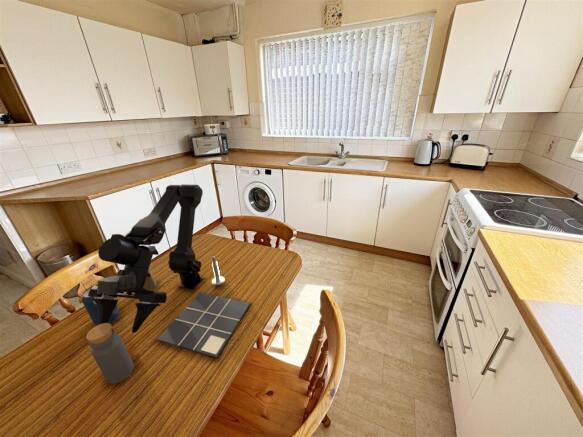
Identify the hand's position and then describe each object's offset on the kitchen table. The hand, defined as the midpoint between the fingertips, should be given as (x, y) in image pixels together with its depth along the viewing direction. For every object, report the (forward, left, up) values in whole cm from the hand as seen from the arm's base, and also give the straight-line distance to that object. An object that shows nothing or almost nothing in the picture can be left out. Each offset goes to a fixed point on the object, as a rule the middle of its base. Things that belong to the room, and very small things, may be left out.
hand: (117, 330), depth 60 cm
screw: (+7, +33, -11) cm, 35 cm away
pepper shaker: (-19, +25, -11) cm, 33 cm away
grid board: (+13, +17, -11) cm, 23 cm away
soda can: (-19, +8, -11) cm, 24 cm away
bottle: (+1, -3, -11) cm, 12 cm away
